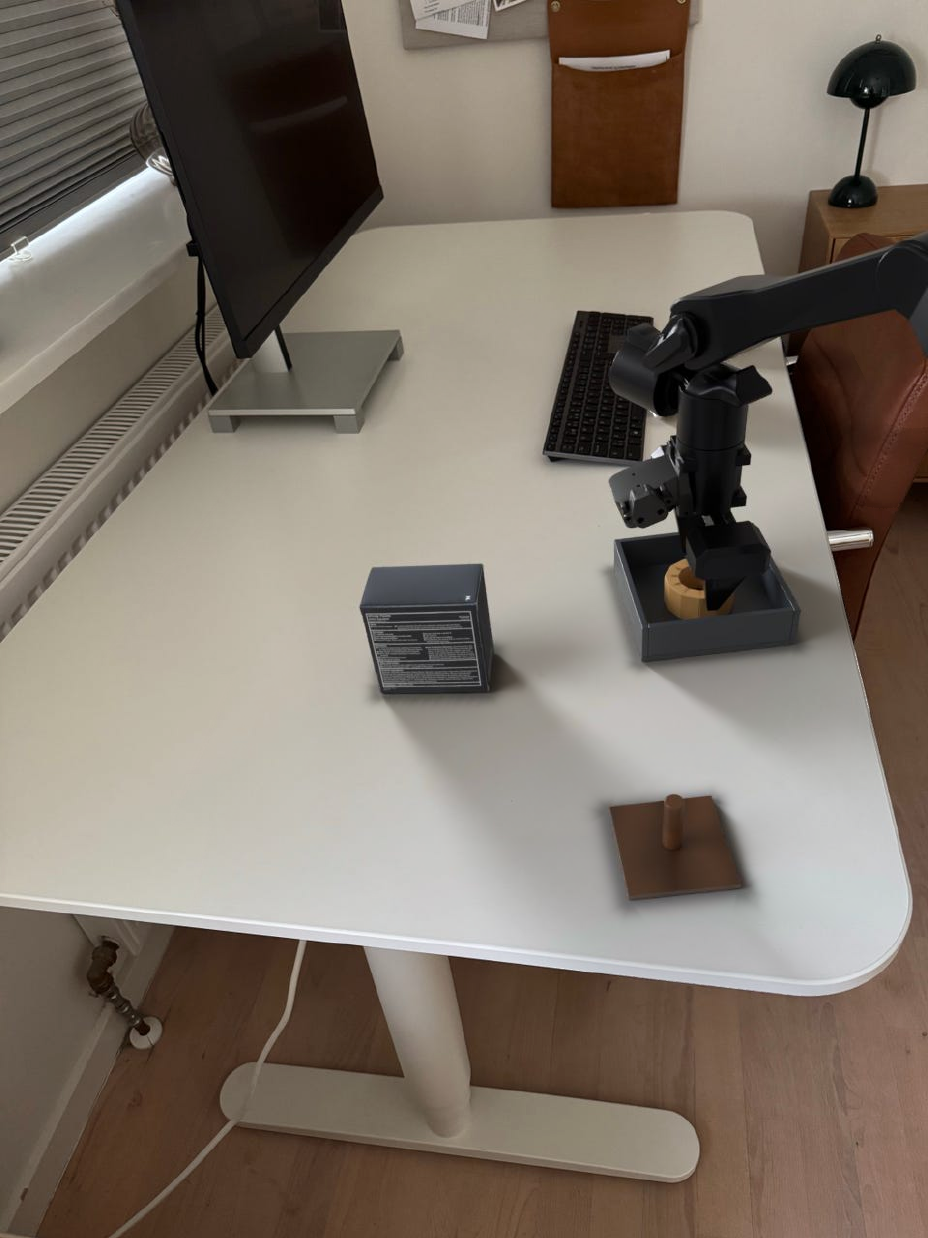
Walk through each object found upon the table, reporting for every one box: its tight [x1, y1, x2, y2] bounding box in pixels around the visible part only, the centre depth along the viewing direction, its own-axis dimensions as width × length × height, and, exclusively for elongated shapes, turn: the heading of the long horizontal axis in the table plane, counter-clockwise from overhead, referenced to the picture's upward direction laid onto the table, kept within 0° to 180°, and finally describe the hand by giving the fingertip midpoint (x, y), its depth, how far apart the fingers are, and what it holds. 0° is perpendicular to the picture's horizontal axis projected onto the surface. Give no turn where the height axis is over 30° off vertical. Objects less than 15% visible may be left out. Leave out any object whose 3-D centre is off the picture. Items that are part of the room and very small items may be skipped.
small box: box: [358, 563, 495, 694], centre depth 81 cm, size 11×6×10 cm, turn 84°
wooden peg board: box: [608, 793, 742, 901], centre depth 65 cm, size 8×8×6 cm
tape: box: [664, 559, 735, 620], centre depth 86 cm, size 6×6×3 cm
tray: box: [613, 522, 802, 663], centre depth 86 cm, size 14×14×4 cm
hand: (699, 579), depth 86 cm, fingers open, 9 cm apart
